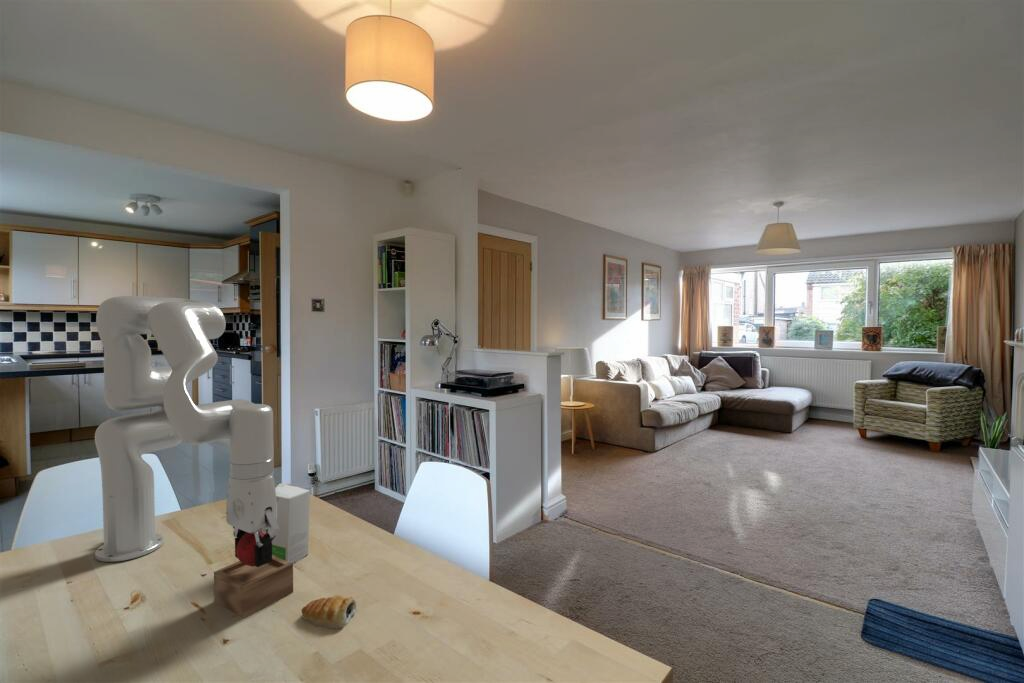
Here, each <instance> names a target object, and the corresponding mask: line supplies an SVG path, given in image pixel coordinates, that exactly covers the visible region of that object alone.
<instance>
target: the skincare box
mask: <svg viewBox="0 0 1024 683" xmlns="http://www.w3.org/2000/svg"><path fill="white" fill-rule="evenodd" d="M275 490H276V501H277V521H276V522H277V524H278V526H279V528H280V531H279V532H278V533H277V535H276V536H275V538H274V541H273V542H272V555H273V556H276V557H278V558H281V559H283V560H285V561H288V562H290V563H292V564H293V565H294V564H295V563H297V562H298V560H299V561H300V560H303V559H304V558H305V556H306V555H307V556H309V541H310V540H309V539H310V538H309V536H310V535H309V534H310V533H309V532H310V501H311V500H310V497H311V495H310V494H311V490H309V489H305V488H301V487H299V486H292V485H289V484H281V485H279V486H277V487H276V486H275ZM263 527H265V524H263V525H262V528H263ZM262 532H263V533H265V534H266V530H265V531H262ZM307 556H306V557H307ZM303 557H304V558H303ZM296 561H297V562H296Z"/></svg>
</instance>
